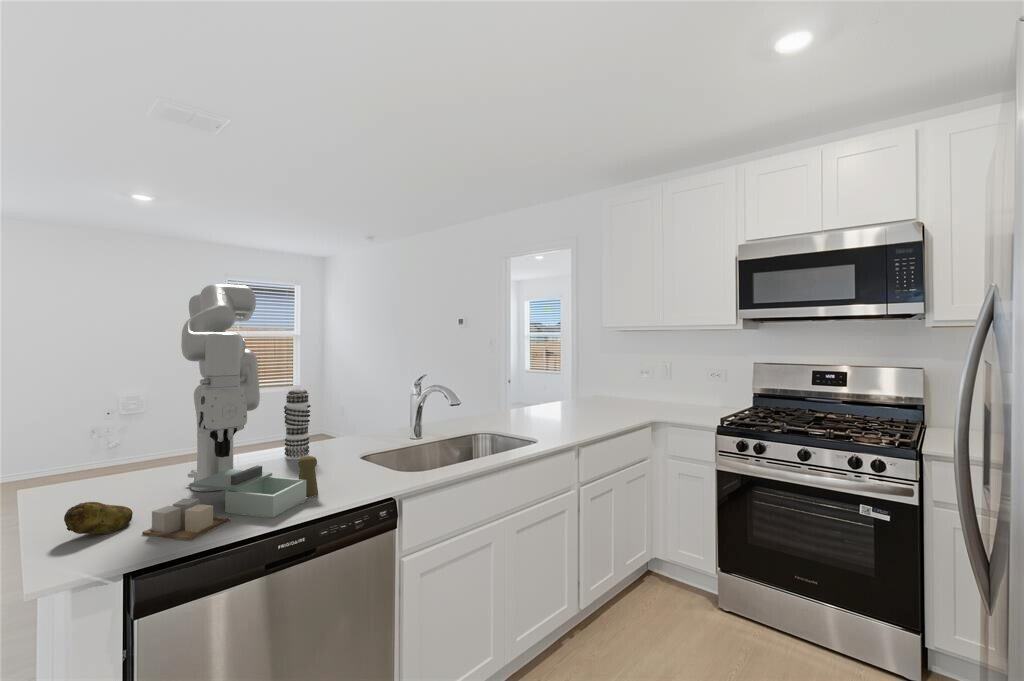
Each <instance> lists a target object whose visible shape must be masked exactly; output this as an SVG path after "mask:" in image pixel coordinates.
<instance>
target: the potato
mask: <svg viewBox="0 0 1024 681" xmlns="http://www.w3.org/2000/svg"><path fill="white" fill-rule="evenodd" d="M133 514H134V513H133V510H132V508H129V507H127V506H126V505H125V506H123V505H116V504H114V505H113V504H105V503H102V502H98V501H86V502H80V503H78V504H76V505H74V506H72V507H70V508H69V509H68V510H67V511H66V512H65V514H64V516H63V521H64V524H65V526H66V530H67V531H69V532H70V531H71V532H73V533H75V534H78V535H79V534H80V535H88V534H90V535H99V536H100V535H106V534H110V533H113V532H117V531H118V530H121V529H122V528H124V527H126V526H127V525H128V524H130V522H132V519H133Z"/></svg>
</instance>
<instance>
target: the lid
mask: <svg viewBox="0 0 1024 681" xmlns="http://www.w3.org/2000/svg"><path fill="white" fill-rule="evenodd" d="M268 477H273V472H269V471H263V465H259V464H258V465H255V466H252V467H250V468H247V469H244V470H243V469H234V468H233V469H228V470H225V471H223V472H220V473H217V474H215V475H212V476H209V477H206V478H204V479H201V480H198V481H196V482H194V481H193V482H190V483H189V487H190V488H191V487H198V488H209V489H219V490H218V491H228V490H229V491H238V490H240V489H242V488H245V487H247V486H249V485H252V484H254V483H256V482H259V481H261V480H263V479H265V478H268Z"/></svg>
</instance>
